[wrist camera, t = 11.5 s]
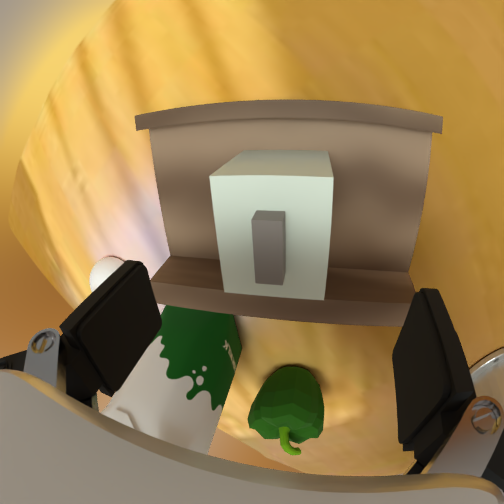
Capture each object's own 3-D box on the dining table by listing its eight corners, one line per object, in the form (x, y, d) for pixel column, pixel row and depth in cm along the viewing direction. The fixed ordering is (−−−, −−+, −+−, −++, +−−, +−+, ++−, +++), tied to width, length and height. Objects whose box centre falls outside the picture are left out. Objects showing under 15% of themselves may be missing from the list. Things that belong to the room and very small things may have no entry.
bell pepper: (248, 363, 32) (226, 435, 24) (312, 351, 29) (302, 433, 21) (277, 397, 35) (263, 461, 27) (334, 389, 32) (329, 458, 24)
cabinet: (327, 150, 15) (335, 184, 9) (324, 241, 18) (323, 314, 12) (244, 150, 16) (200, 183, 10) (250, 237, 19) (218, 305, 13)
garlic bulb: (154, 284, 30) (120, 332, 23) (126, 306, 32) (94, 350, 25) (116, 242, 28) (72, 281, 21) (92, 269, 30) (53, 307, 23)
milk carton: (251, 353, 31) (198, 518, 14) (181, 346, 33) (113, 484, 17) (237, 295, 27) (152, 501, 10) (158, 291, 29) (55, 448, 12)
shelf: (393, 268, 22) (410, 326, 16) (191, 254, 26) (156, 303, 20) (414, 111, 15) (458, 120, 9) (171, 109, 19) (115, 119, 13)
